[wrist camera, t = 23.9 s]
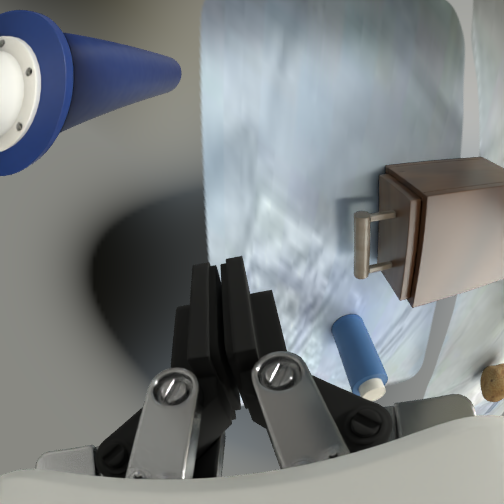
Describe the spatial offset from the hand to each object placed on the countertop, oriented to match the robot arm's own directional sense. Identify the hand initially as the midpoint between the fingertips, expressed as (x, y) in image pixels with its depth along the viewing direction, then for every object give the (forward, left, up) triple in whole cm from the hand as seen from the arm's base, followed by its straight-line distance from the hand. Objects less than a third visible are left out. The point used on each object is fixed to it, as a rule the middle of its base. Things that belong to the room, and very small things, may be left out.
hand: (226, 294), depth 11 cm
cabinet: (+23, -10, -21) cm, 33 cm away
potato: (+50, -55, -22) cm, 78 cm away
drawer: (+19, -10, -20) cm, 30 cm away
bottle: (+11, -26, -21) cm, 36 cm away
